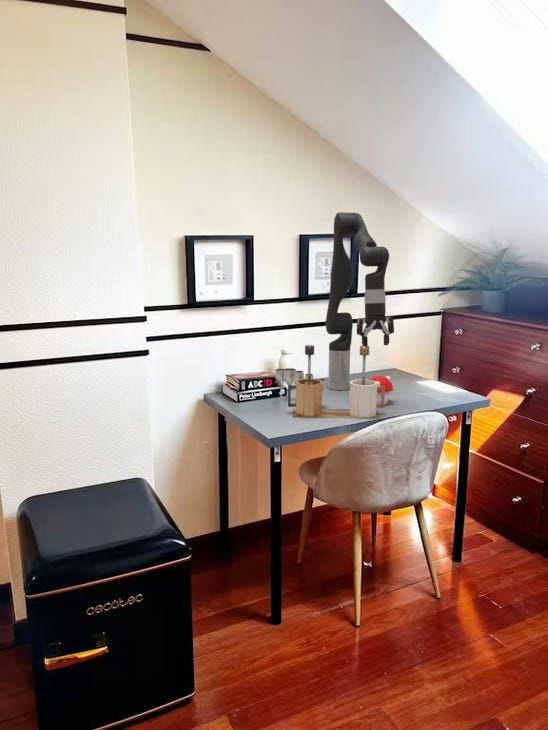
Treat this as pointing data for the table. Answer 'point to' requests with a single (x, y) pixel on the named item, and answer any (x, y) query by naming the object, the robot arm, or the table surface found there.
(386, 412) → the table surface
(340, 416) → the board
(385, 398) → the mushroom
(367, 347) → the brown plunger
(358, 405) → the cream press
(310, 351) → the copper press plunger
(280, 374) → the goblet set
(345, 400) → the table surface
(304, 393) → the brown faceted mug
